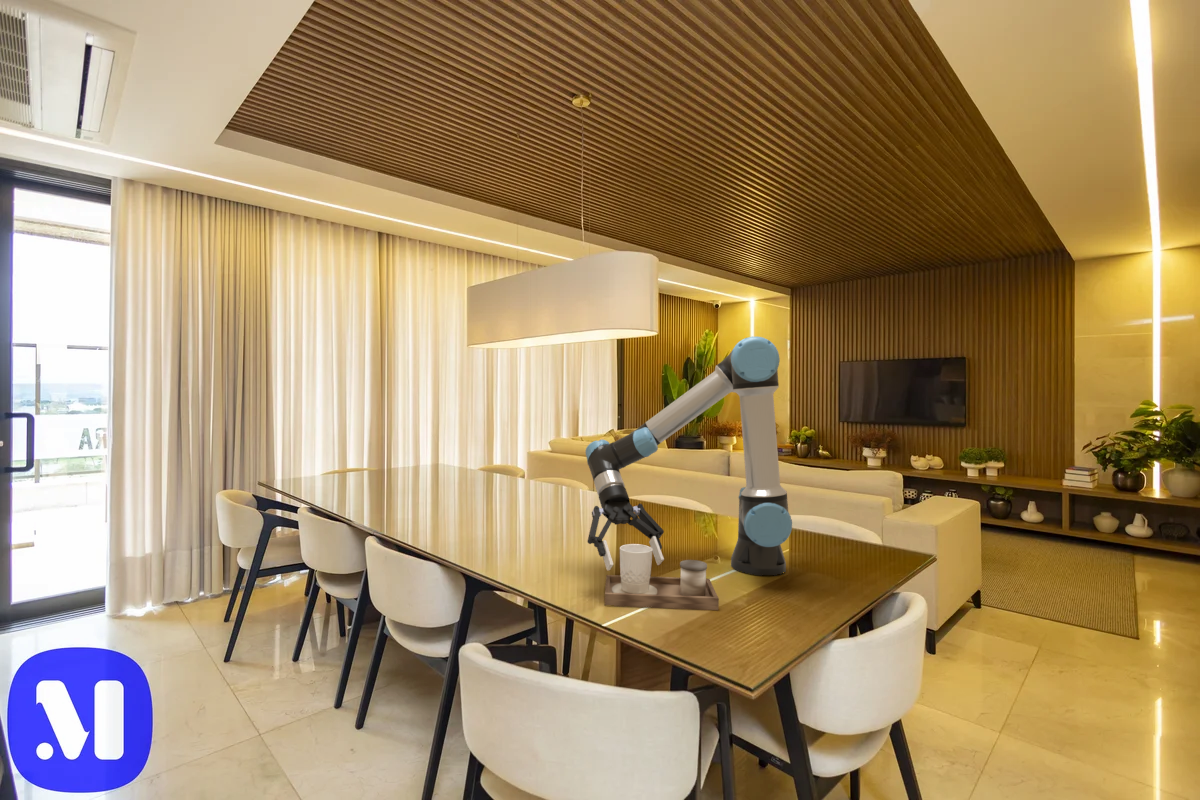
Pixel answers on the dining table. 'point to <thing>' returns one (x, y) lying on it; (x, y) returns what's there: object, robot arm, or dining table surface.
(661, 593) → the tray
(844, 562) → the dining table surface
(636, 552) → the white cup
